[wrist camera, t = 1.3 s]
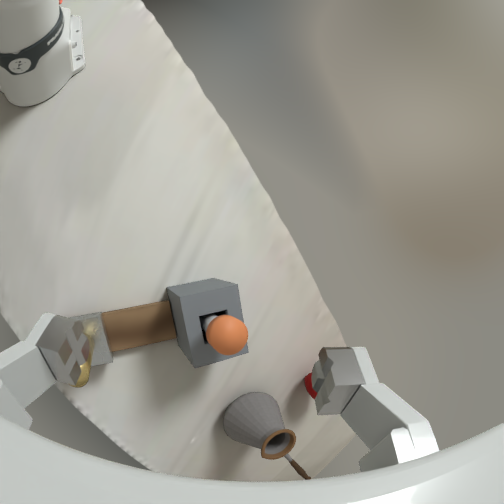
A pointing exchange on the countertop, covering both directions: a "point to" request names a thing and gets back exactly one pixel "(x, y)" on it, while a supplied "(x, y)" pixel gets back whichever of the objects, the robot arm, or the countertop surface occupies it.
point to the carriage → (94, 344)
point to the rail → (139, 325)
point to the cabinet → (197, 304)
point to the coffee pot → (261, 427)
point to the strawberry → (310, 386)
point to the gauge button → (224, 333)
